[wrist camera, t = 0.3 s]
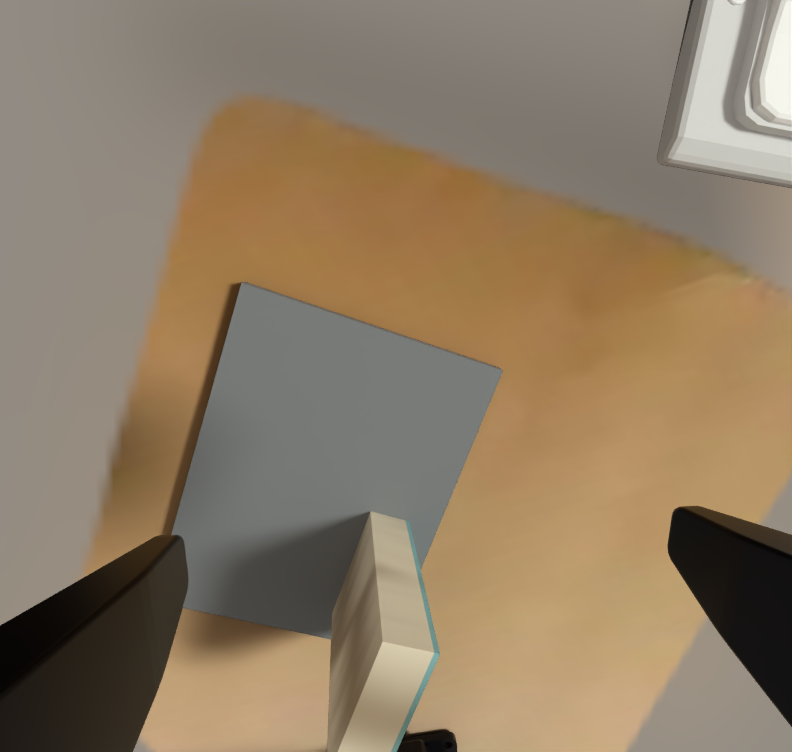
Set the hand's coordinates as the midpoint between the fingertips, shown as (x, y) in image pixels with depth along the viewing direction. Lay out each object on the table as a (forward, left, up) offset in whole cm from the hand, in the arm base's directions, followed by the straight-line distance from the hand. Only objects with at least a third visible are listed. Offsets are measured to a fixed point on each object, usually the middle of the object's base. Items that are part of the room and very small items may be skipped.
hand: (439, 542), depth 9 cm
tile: (-10, +1, -13) cm, 17 cm away
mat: (-6, +3, -14) cm, 15 cm away
